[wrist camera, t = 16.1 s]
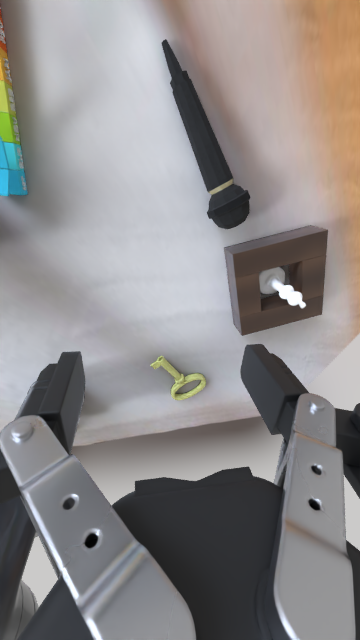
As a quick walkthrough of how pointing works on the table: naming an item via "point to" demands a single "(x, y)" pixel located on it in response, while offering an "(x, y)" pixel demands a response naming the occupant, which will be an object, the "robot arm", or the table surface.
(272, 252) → the holder
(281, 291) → the chess piece
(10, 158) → the chart
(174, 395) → the key
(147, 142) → the table surface
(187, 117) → the microphone
